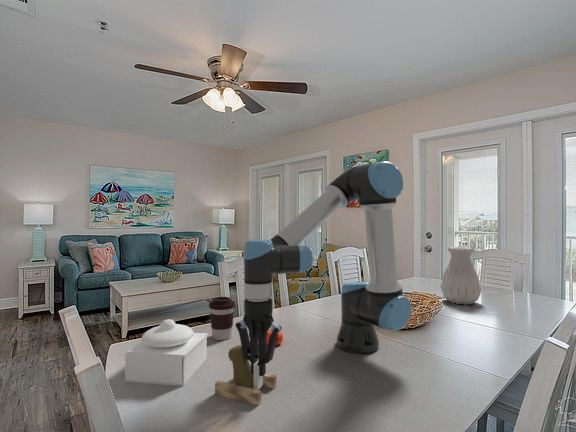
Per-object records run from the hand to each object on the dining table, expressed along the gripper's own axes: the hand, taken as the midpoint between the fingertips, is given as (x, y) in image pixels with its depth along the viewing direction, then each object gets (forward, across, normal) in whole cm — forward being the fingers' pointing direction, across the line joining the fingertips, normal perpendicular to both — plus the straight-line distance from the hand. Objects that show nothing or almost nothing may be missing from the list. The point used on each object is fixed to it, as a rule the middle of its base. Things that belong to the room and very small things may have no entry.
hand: (258, 387), depth 90 cm
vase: (+2, -58, -128) cm, 140 cm away
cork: (+1, +3, 0) cm, 4 cm away
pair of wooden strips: (+2, +4, 0) cm, 4 cm away
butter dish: (+2, +32, -2) cm, 32 cm away
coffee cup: (+2, +32, -32) cm, 45 cm away
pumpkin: (+2, +12, -34) cm, 35 cm away
